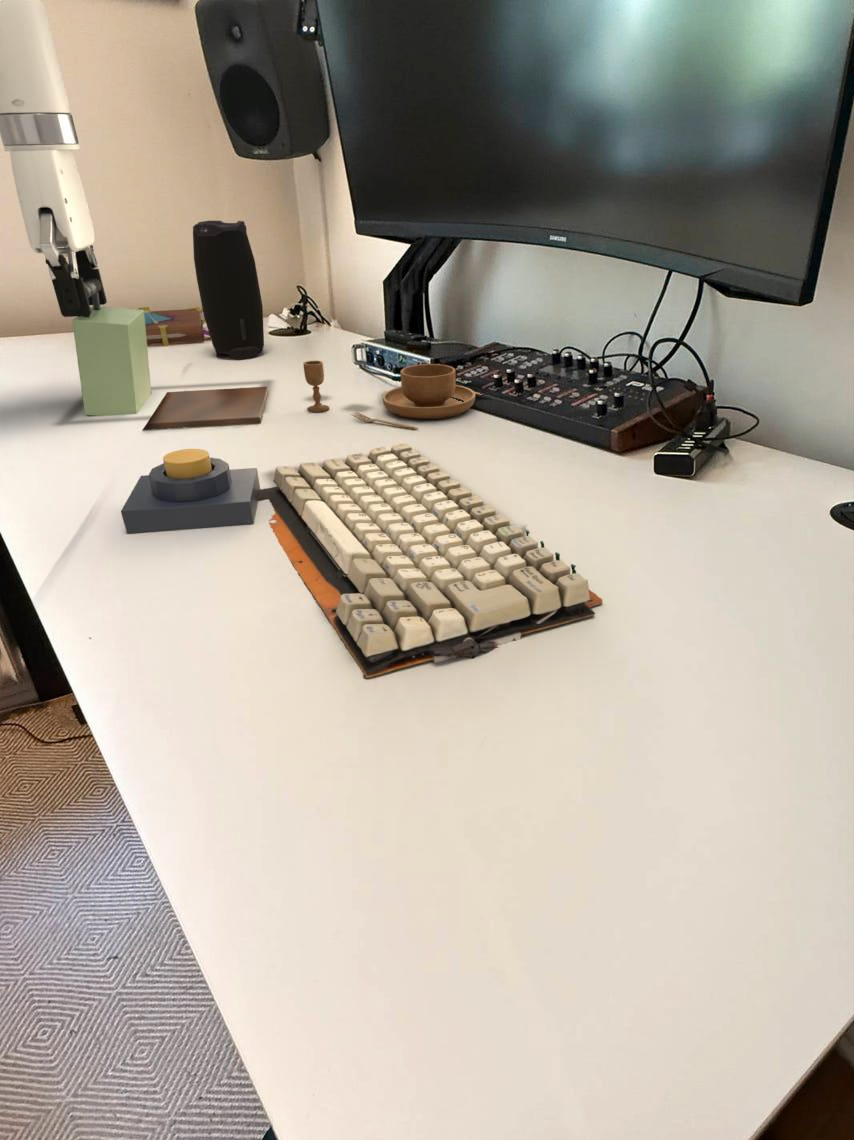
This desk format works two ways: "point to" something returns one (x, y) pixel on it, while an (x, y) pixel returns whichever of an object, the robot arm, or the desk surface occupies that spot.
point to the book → (174, 325)
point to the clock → (111, 357)
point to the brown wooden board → (209, 408)
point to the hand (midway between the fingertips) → (85, 308)
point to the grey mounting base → (192, 500)
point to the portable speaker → (229, 288)
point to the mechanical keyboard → (415, 560)
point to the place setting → (409, 393)
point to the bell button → (187, 463)
